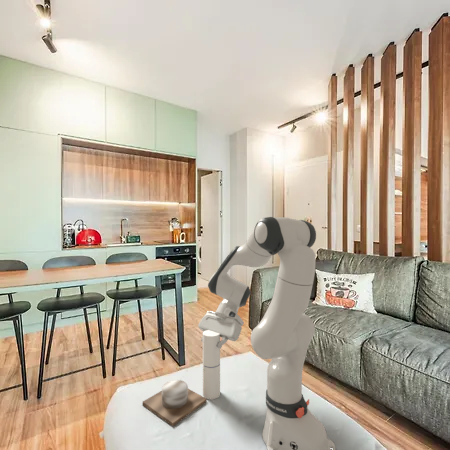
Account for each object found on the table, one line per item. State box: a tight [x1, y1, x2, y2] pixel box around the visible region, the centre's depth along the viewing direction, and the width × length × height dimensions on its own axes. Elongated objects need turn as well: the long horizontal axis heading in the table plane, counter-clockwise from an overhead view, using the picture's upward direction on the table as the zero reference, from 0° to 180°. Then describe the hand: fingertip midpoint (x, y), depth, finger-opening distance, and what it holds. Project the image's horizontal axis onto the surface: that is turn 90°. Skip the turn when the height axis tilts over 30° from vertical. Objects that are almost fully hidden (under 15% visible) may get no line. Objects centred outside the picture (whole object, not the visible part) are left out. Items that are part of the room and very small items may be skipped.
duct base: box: [142, 379, 208, 427], centre depth 105 cm, size 18×17×6 cm
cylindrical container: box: [202, 330, 221, 400], centre depth 111 cm, size 7×7×25 cm
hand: (210, 344), depth 111 cm, fingers closed on cylindrical container, 7 cm apart
